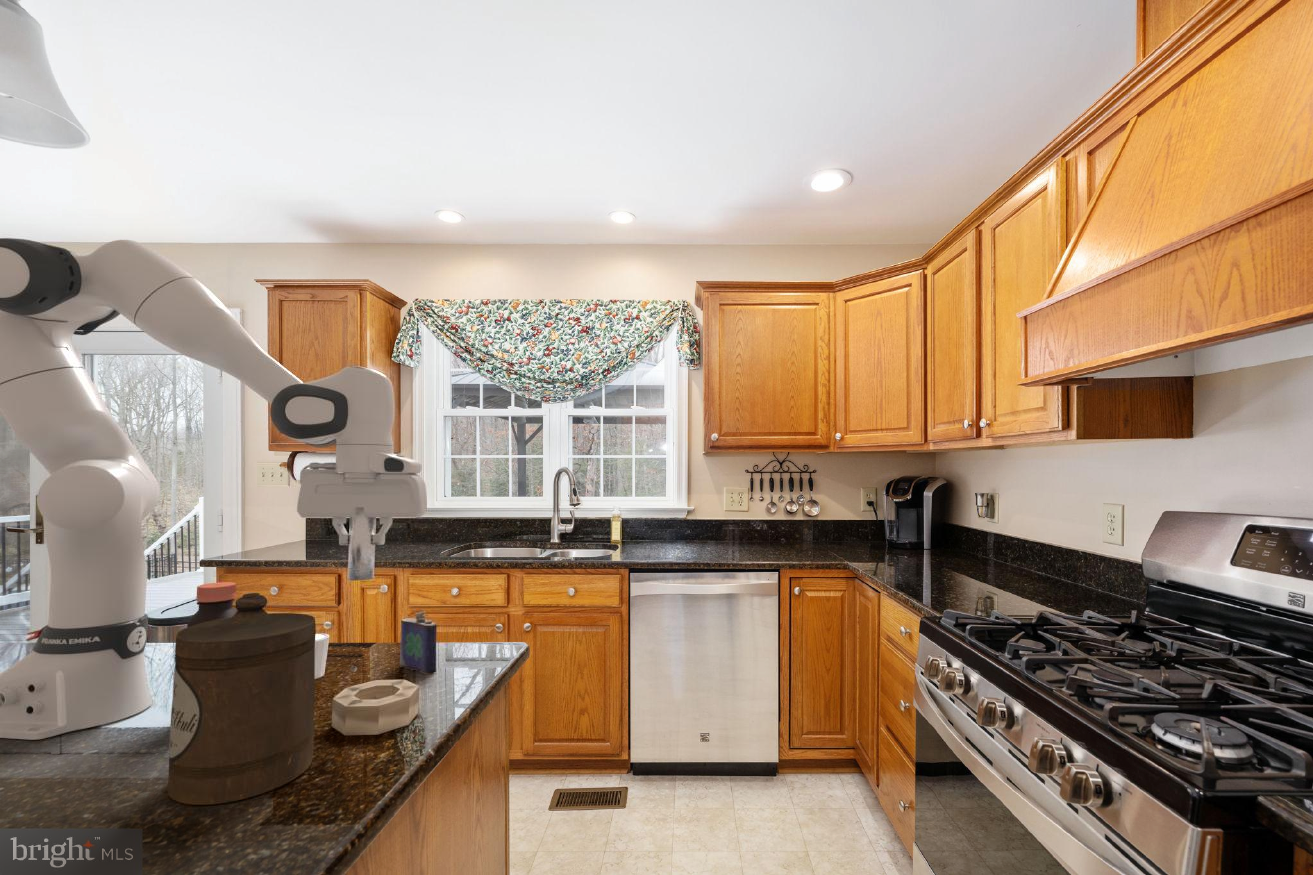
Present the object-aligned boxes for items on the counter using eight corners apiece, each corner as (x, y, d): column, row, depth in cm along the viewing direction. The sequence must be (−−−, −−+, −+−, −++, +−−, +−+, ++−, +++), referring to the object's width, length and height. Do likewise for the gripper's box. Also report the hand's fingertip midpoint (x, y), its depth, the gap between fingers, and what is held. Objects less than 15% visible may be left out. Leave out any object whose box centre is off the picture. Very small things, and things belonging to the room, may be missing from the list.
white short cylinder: (308, 683, 107) (310, 643, 107) (275, 681, 108) (277, 641, 108) (336, 671, 113) (338, 633, 114) (305, 668, 115) (306, 631, 115)
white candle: (343, 580, 99) (346, 489, 100) (353, 576, 103) (356, 488, 104) (368, 580, 100) (371, 489, 101) (377, 576, 104) (380, 488, 105)
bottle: (219, 727, 88) (225, 588, 89) (170, 728, 88) (177, 589, 89) (247, 709, 95) (253, 580, 96) (202, 710, 95) (208, 581, 96)
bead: (321, 736, 86) (322, 707, 86) (353, 706, 96) (354, 680, 97) (401, 733, 86) (402, 705, 87) (424, 704, 97) (425, 679, 98)
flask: (396, 666, 116) (398, 610, 117) (410, 662, 119) (411, 607, 120) (427, 675, 112) (429, 616, 112) (441, 671, 114) (442, 613, 115)
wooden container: (188, 759, 78) (197, 588, 80) (318, 739, 84) (324, 580, 86) (146, 819, 65) (158, 611, 66) (304, 790, 71) (312, 600, 72)
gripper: (291, 461, 99) (287, 547, 98) (420, 462, 101) (417, 546, 100) (310, 462, 105) (306, 542, 104) (430, 463, 107) (428, 542, 106)
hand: (362, 544), depth 102 cm, fingers closed on white candle, 4 cm apart
